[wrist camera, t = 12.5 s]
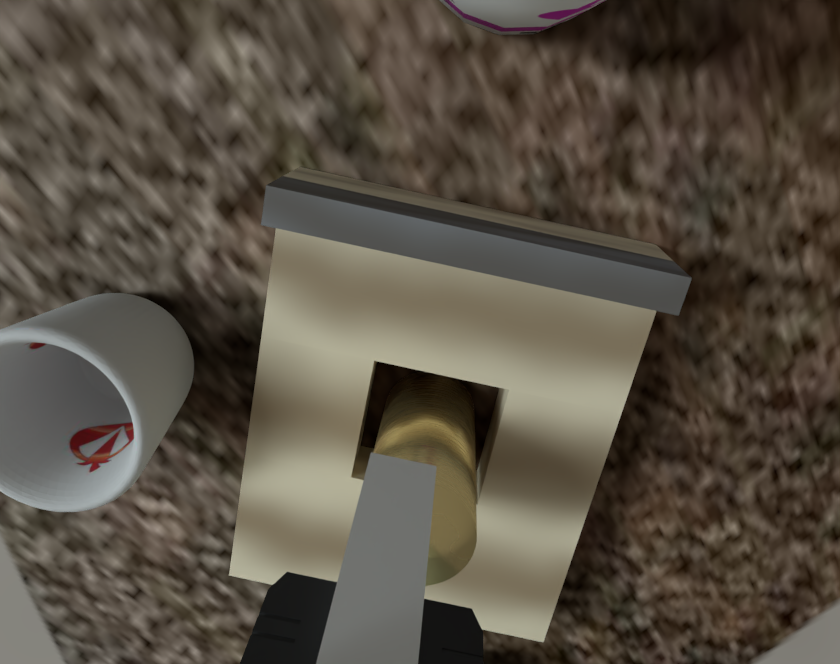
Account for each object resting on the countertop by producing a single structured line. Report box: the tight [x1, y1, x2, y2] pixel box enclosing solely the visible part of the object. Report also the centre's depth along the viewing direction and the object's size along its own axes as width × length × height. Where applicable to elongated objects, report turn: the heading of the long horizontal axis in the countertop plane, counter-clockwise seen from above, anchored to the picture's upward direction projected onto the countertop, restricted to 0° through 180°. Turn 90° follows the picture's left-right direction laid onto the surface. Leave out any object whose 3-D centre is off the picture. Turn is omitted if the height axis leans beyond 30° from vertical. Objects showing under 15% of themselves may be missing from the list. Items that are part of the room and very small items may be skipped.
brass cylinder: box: [373, 371, 477, 586], centre depth 30 cm, size 4×4×10 cm
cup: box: [0, 293, 194, 512], centre depth 31 cm, size 11×8×8 cm
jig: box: [229, 167, 692, 642], centre depth 32 cm, size 20×16×6 cm
